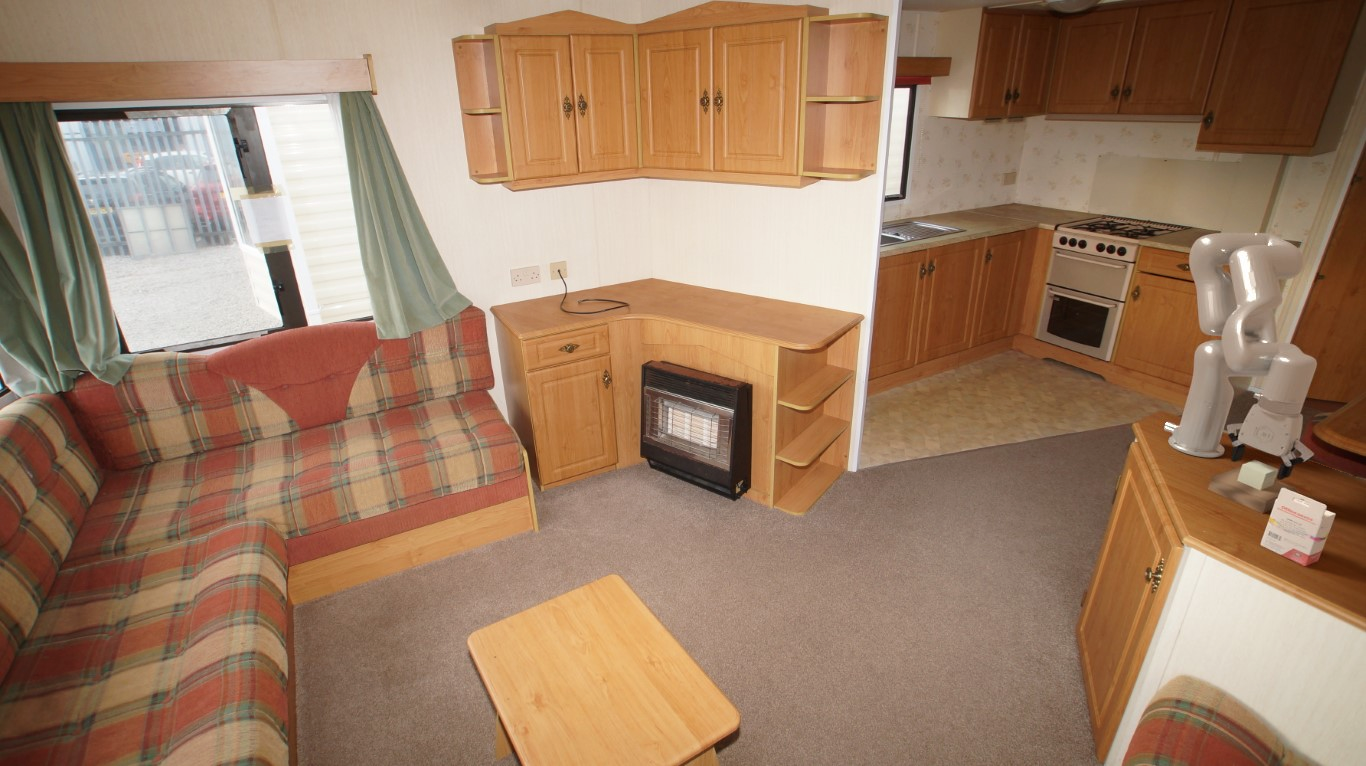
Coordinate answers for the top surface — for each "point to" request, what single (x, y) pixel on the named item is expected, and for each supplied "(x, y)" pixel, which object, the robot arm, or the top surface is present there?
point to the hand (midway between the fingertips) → (1258, 469)
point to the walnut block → (1247, 491)
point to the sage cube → (1257, 475)
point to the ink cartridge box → (1297, 527)
